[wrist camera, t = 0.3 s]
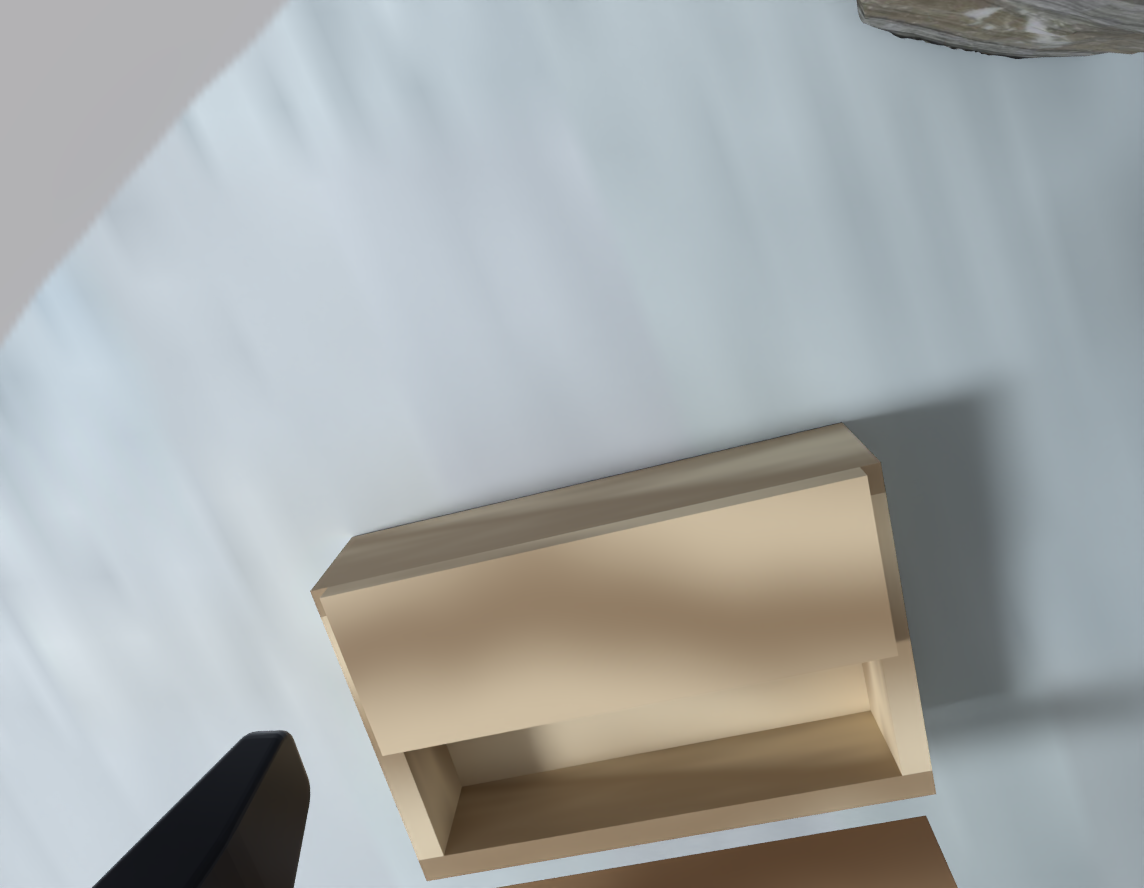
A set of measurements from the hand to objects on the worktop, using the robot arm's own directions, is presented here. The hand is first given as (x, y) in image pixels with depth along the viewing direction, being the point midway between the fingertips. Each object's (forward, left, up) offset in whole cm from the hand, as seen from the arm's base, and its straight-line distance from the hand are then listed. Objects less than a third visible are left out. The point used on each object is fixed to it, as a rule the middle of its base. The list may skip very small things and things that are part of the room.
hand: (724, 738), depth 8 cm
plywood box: (-7, -3, -15) cm, 17 cm away
